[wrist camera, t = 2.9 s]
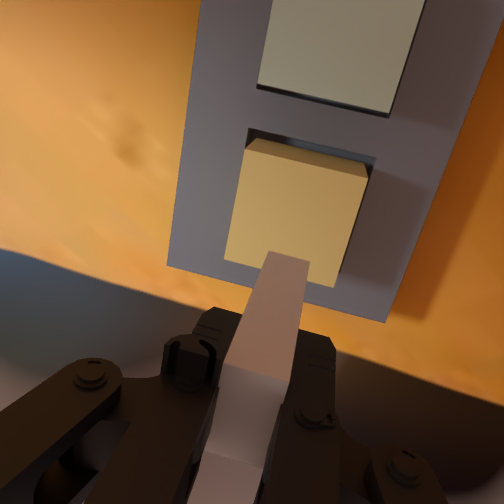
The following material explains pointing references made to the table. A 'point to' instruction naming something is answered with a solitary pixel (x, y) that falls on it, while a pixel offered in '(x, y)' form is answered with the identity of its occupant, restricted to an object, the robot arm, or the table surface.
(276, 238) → the ochre button
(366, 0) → the sage button
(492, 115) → the table surface
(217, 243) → the button board
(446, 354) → the table surface
